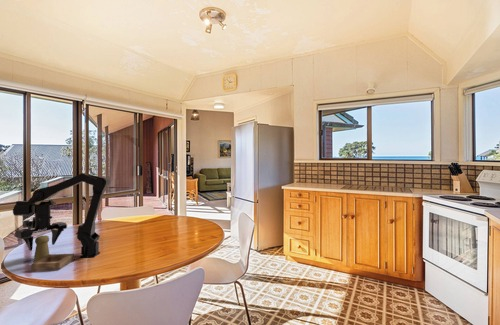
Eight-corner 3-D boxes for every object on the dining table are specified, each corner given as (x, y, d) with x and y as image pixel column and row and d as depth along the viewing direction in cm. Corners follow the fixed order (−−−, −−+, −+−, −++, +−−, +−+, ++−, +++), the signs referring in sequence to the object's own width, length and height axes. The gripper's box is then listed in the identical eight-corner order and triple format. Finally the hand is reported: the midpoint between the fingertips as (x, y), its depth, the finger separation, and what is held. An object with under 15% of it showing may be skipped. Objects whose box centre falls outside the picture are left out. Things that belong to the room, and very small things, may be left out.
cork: (48, 255, 121) (48, 233, 121) (51, 259, 117) (51, 236, 117) (32, 259, 116) (32, 236, 116) (34, 262, 112) (35, 238, 112)
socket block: (74, 259, 116) (74, 253, 116) (59, 269, 105) (59, 262, 105) (48, 260, 115) (48, 254, 115) (31, 271, 104) (31, 264, 104)
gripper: (54, 210, 128) (53, 239, 128) (8, 217, 111) (7, 251, 111) (67, 211, 124) (67, 242, 124) (22, 219, 107) (21, 255, 107)
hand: (42, 247), depth 117 cm, fingers open, 9 cm apart
